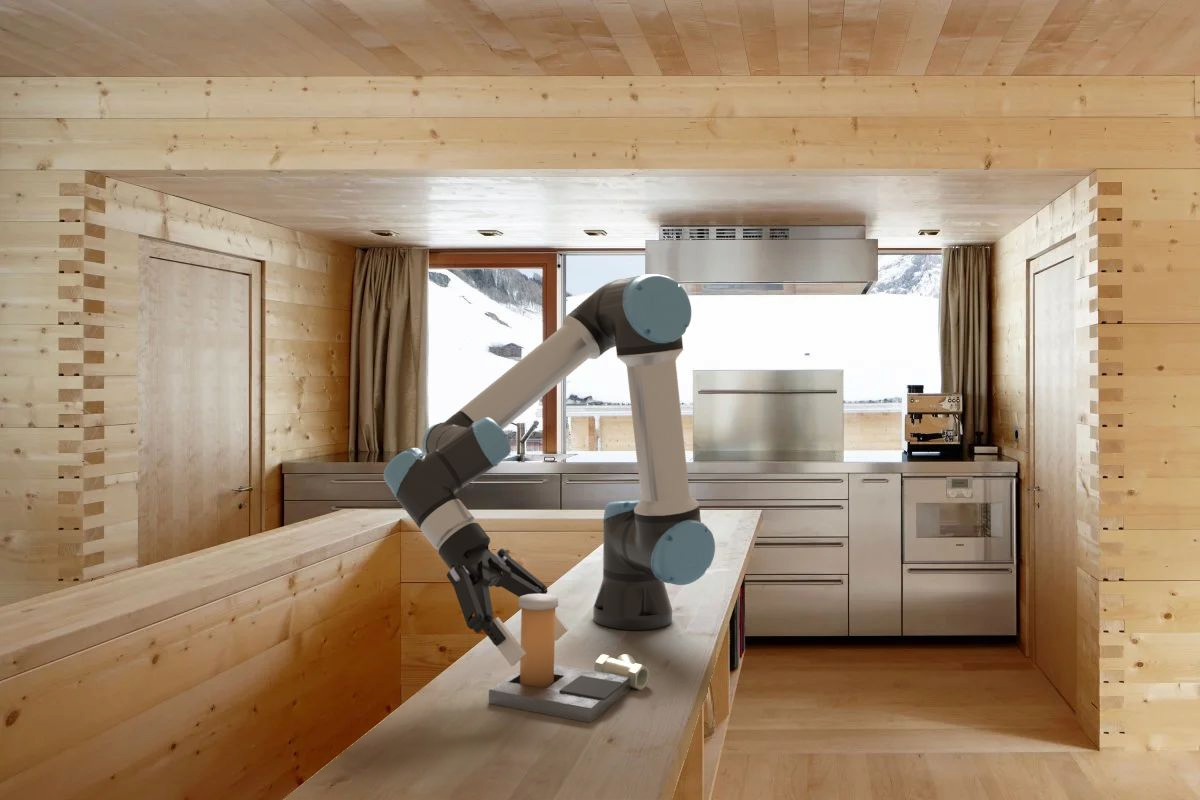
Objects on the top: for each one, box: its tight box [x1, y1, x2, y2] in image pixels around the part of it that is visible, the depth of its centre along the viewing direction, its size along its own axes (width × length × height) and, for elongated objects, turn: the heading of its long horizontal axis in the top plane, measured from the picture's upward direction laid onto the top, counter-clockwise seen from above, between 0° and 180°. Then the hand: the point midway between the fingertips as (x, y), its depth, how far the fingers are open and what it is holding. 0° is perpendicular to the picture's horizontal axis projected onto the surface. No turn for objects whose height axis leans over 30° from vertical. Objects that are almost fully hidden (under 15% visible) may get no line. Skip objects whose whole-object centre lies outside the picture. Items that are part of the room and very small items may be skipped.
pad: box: [559, 675, 624, 700], centre depth 131 cm, size 7×7×1 cm
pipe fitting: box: [593, 653, 650, 691], centre depth 141 cm, size 8×4×7 cm
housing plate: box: [488, 664, 631, 723], centre depth 134 cm, size 14×16×2 cm
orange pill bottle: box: [518, 593, 559, 689], centre depth 135 cm, size 6×6×14 cm
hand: (541, 647), depth 134 cm, fingers open, 13 cm apart
